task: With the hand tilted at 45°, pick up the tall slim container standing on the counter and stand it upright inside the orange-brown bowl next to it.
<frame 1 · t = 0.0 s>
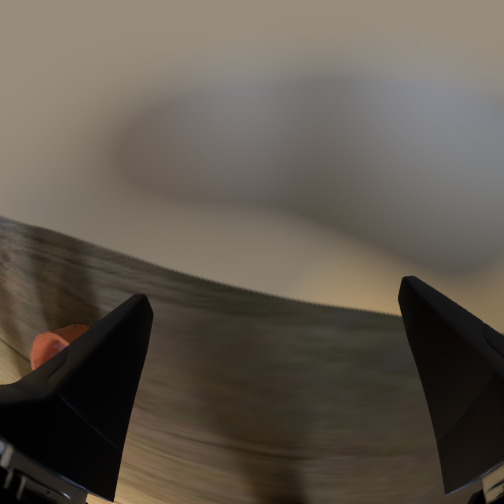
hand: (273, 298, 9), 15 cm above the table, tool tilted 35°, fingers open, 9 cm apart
orange-brown bowl: (86, 363, 26), on the table
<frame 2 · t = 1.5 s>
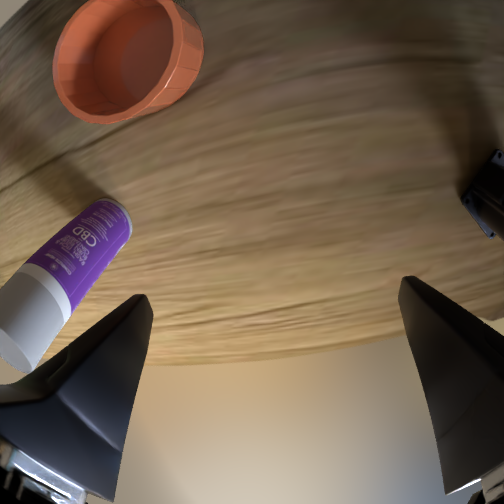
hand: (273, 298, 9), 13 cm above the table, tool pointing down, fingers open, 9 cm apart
container: (110, 221, 24), on the table
orange-brown bowl: (143, 56, 16), on the table
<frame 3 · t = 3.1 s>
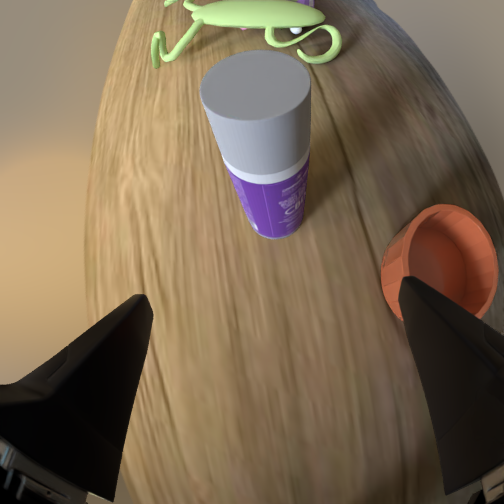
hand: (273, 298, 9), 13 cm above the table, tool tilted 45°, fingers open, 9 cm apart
figurine: (239, 30, 32), on the table
container: (275, 213, 25), on the table
orange-brown bowl: (427, 275, 21), on the table
when the fingers open (7 cm above the table, at t = 12.7 s): container stays where it is, resting on orange-brown bowl.
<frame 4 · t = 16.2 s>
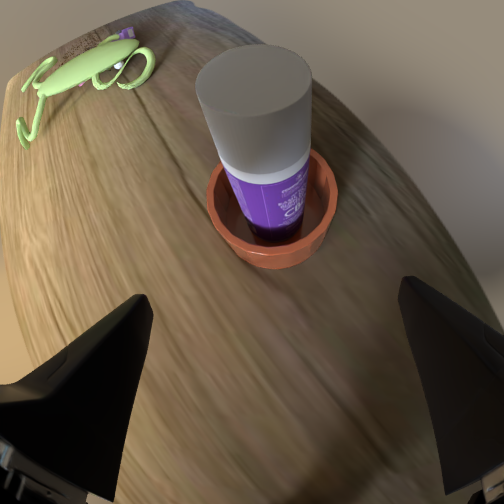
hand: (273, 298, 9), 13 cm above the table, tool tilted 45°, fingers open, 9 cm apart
figurine: (80, 87, 34), on the table
container: (274, 216, 24), resting on orange-brown bowl
orange-brown bowl: (275, 215, 24), on the table
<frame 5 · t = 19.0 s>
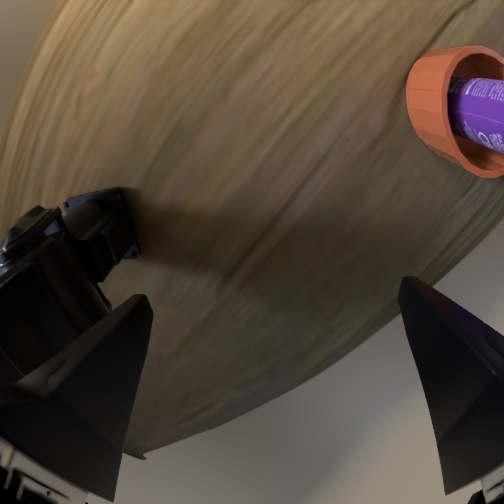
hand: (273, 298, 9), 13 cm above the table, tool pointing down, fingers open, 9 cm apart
container: (454, 105, 16), resting on orange-brown bowl
orange-brown bowl: (453, 104, 16), on the table
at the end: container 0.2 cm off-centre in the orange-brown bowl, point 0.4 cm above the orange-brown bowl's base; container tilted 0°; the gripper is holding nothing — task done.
